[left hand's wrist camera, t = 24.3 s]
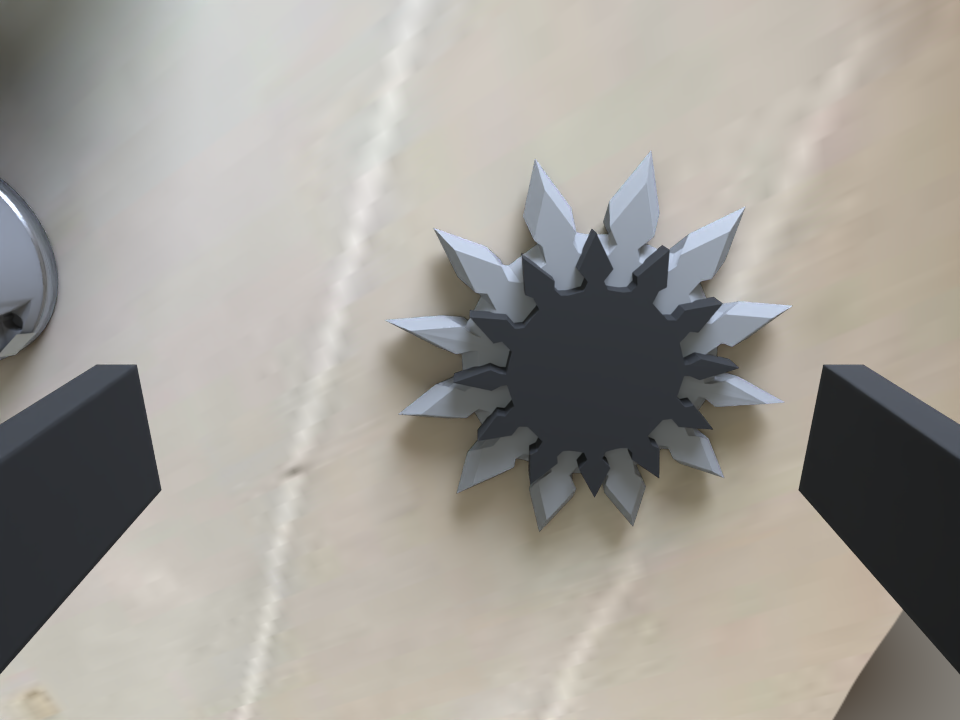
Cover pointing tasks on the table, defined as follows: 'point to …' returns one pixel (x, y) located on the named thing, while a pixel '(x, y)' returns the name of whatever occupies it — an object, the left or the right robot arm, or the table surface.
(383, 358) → the table surface
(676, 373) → the decorative piece
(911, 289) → the table surface
